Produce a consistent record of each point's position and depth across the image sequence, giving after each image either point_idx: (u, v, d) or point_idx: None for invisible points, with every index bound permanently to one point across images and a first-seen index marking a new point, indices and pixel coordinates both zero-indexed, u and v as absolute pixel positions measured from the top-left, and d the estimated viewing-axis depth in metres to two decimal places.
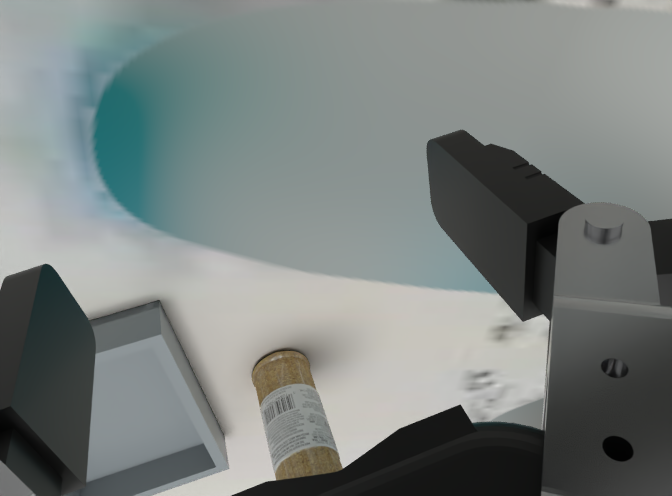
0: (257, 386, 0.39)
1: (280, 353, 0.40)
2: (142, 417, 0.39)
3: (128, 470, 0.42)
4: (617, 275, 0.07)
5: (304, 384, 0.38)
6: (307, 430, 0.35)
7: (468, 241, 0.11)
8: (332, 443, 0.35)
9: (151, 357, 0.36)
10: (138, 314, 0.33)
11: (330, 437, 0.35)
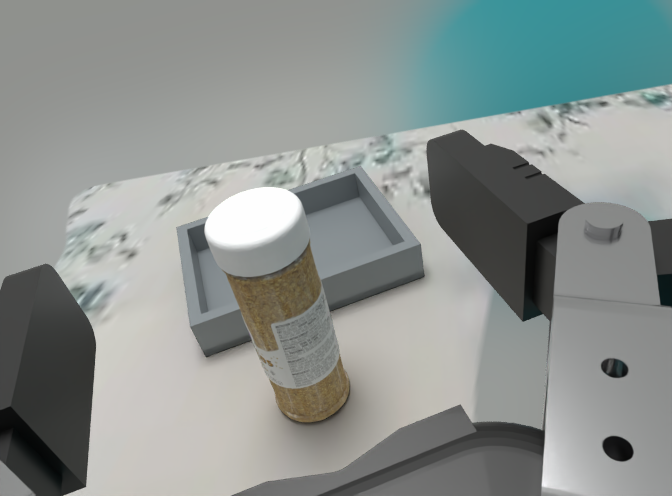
0: None
1: (348, 379, 0.32)
2: None
3: (201, 277, 0.42)
4: (618, 275, 0.07)
5: (336, 362, 0.29)
6: (326, 303, 0.28)
7: (468, 241, 0.11)
8: (308, 317, 0.26)
9: None
10: None
11: (310, 323, 0.26)
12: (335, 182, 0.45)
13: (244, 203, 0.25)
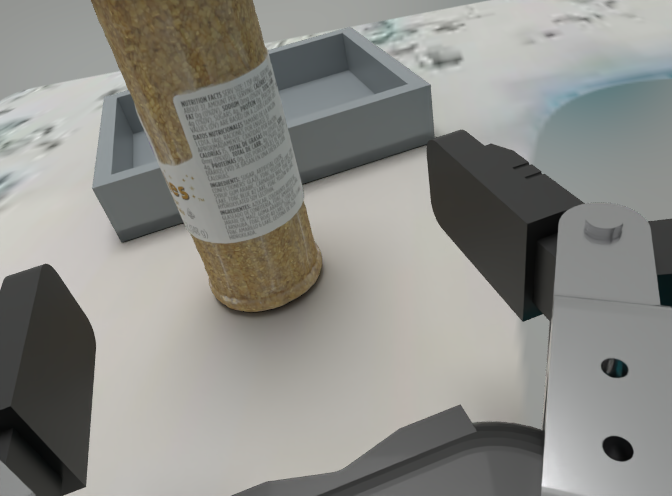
0: None
1: None
2: None
3: (132, 155, 0.31)
4: (617, 275, 0.07)
5: (298, 208, 0.18)
6: (277, 93, 0.17)
7: (468, 241, 0.11)
8: (241, 94, 0.15)
9: None
10: None
11: (246, 108, 0.15)
12: (317, 44, 0.34)
13: None
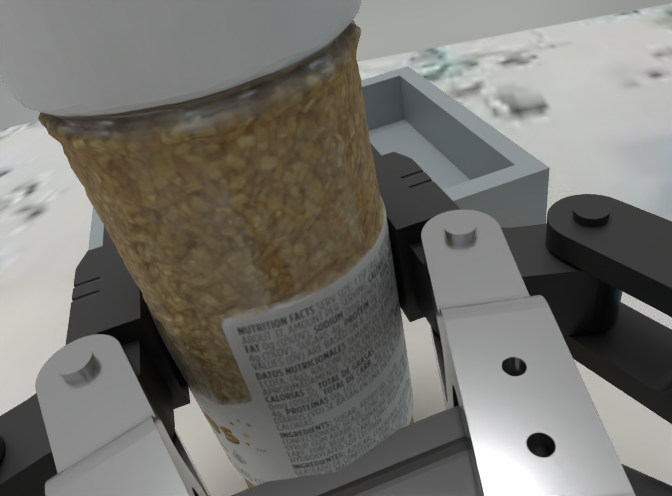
0: None
1: None
2: None
3: None
4: (486, 275, 0.07)
5: (409, 423, 0.11)
6: None
7: None
8: (348, 299, 0.08)
9: None
10: None
11: (353, 317, 0.08)
12: (368, 90, 0.27)
13: None
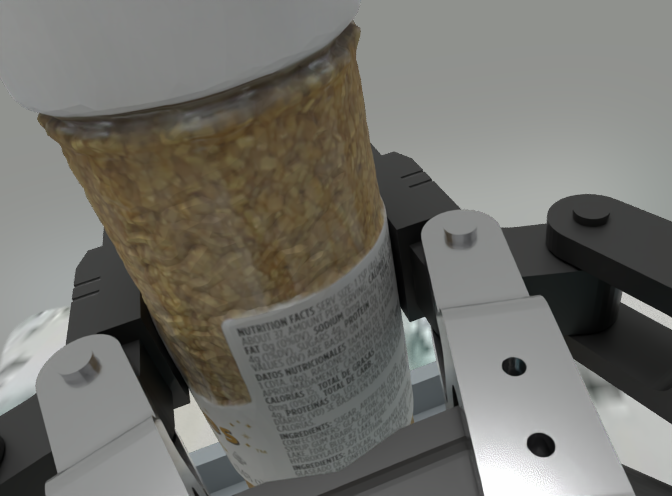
0: None
1: None
2: None
3: None
4: (486, 276, 0.07)
5: (410, 423, 0.11)
6: (393, 262, 0.10)
7: None
8: (348, 300, 0.08)
9: None
10: None
11: (354, 319, 0.08)
12: (437, 378, 0.26)
13: None
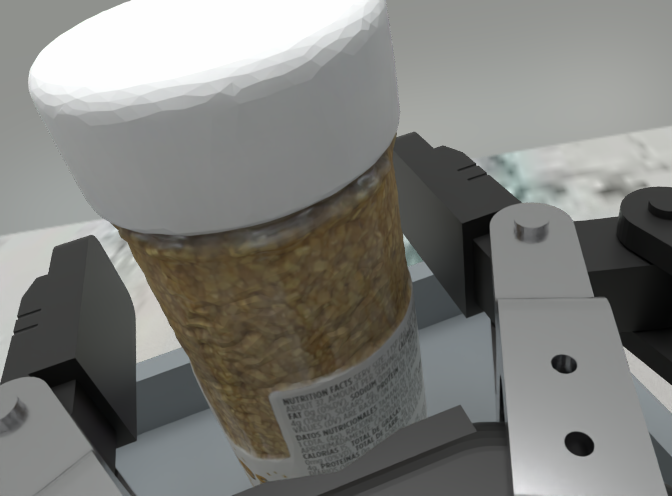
0: None
1: None
2: None
3: None
4: (551, 271, 0.07)
5: None
6: None
7: (419, 240, 0.11)
8: (381, 368, 0.09)
9: None
10: None
11: (385, 384, 0.09)
12: None
13: None
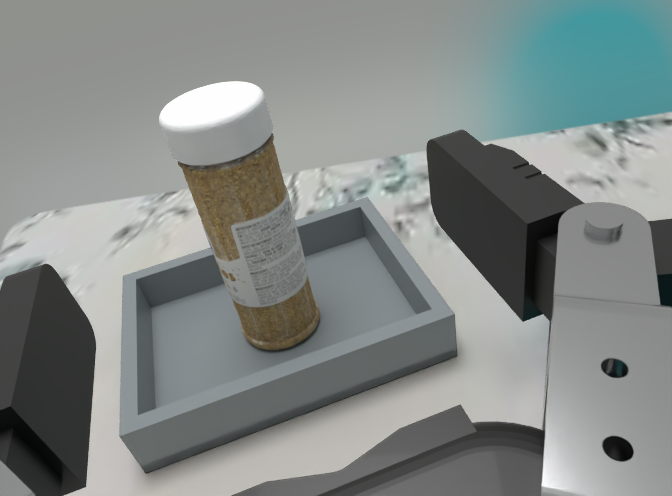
0: None
1: (318, 308, 0.30)
2: (254, 352, 0.29)
3: (151, 346, 0.31)
4: (617, 275, 0.07)
5: (304, 282, 0.28)
6: (292, 213, 0.26)
7: (468, 241, 0.11)
8: (271, 221, 0.24)
9: None
10: None
11: (274, 228, 0.25)
12: (335, 218, 0.34)
13: (203, 94, 0.23)
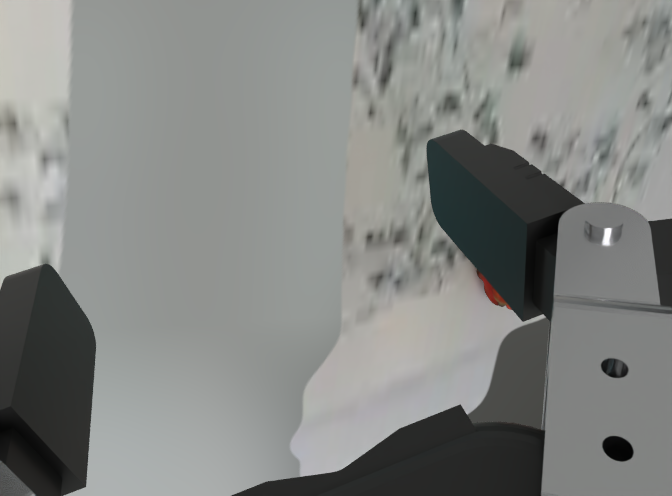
0: None
1: None
2: None
3: None
4: (618, 275, 0.07)
5: None
6: None
7: (468, 241, 0.11)
8: None
9: None
10: None
11: None
12: None
13: None
